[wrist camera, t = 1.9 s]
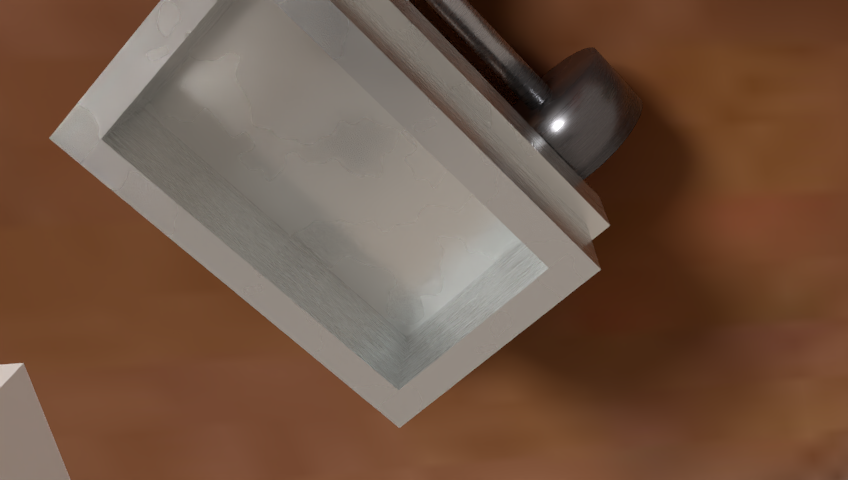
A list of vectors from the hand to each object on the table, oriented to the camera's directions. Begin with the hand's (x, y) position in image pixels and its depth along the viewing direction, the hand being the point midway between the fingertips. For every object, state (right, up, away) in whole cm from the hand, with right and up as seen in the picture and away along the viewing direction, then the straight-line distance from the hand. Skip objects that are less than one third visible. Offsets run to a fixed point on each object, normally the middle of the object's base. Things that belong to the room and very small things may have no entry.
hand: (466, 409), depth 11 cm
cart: (-3, +8, +19) cm, 21 cm away
